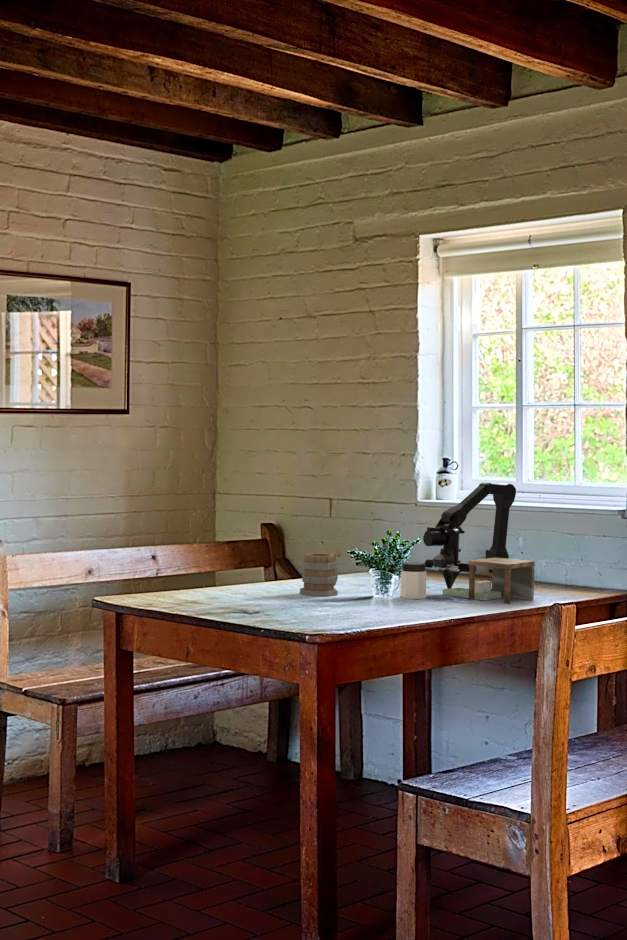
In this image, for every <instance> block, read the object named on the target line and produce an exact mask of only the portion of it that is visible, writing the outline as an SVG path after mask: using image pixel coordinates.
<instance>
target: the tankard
mask: <svg viewBox="0 0 627 940" xmlns="http://www.w3.org/2000/svg"><path fill="white" fill-rule="evenodd" d="M342 555H343V552H342V551H340V550H339V549H335V550H334V551H333V552H331V553H325V552H324V553H320V552H318V553H317V552H315V553H313V552H311V553H305V554H304V560H302V568H303V574H302V575H301V581H302V583H303V587H301V588H299V594H301V595H302V596H306V597H318V598H319V597H320V598H321V597H325V598H326V597H335V596H338V591H339V590H337V589H336V588H335V586H336V584H337V581H338V578H339V577H338V575H339V573H338V567H337V557H339V558H340V557H342Z"/></svg>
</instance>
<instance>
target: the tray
mask: <svg viewBox="0 0 627 940" xmlns="http://www.w3.org/2000/svg"><path fill="white" fill-rule="evenodd" d="M491 589H492V580H481V581H475V595H474V600H481V601H482V600H483V601H489V600H495V599H501V598H502V597H501V592H496V591H491ZM442 596H447V597H448V596H449V597H457V598H465V599H469V587H468V588H467V587H452V588H449V589H448V588H445V589H442Z"/></svg>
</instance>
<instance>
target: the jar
mask: <svg viewBox="0 0 627 940" xmlns="http://www.w3.org/2000/svg"><path fill="white" fill-rule="evenodd" d="M401 570H402V572H401V571H400V587H399V589H400V593H399V594H400V598H402V599H408V600H422V599H426V597H427V571H426V567H425V562H418V561H417V562H415V561H406V562H405V563H404V562H402V565H401Z"/></svg>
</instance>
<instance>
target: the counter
mask: <svg viewBox="0 0 627 940" xmlns="http://www.w3.org/2000/svg"><path fill="white" fill-rule="evenodd" d="M467 563H468V565H469V572H468V573H469V576H468V578H469V579H468V588H469V598H468V600H469V601H474V600H475V599H474V595H475V582H476V571H475V566H476V567H483V568H484V567H486V568H488V567H492V575H491V589H492V591H496V592H501V598H503V604H504V605H511V599H520V600H529V601H533V600H534V598H535V597H534V596H535V595H534V594H535V566H536V565H535V564H536V561H535V560H526V559H515V558H509V559H506V558H487V559H485V558H479V559H471V560H468V562H467Z"/></svg>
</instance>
